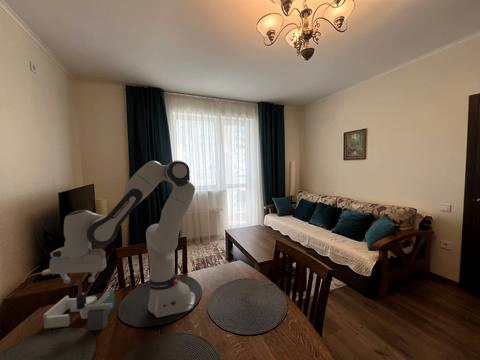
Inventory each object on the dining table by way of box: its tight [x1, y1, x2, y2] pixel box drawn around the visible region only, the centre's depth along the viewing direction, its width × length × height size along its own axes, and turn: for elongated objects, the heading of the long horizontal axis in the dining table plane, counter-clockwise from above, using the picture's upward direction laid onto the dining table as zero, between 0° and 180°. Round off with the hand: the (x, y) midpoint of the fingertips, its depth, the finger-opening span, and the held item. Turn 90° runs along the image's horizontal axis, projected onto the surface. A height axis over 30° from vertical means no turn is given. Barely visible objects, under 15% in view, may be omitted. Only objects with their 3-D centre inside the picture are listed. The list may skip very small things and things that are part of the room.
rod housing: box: [87, 309, 109, 332], centre depth 89 cm, size 6×3×8 cm, turn 96°
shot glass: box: [79, 295, 98, 320], centre depth 97 cm, size 7×7×7 cm
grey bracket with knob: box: [69, 289, 116, 317], centre depth 94 cm, size 16×15×15 cm
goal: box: [43, 295, 77, 329], centre depth 96 cm, size 9×13×6 cm
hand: (79, 282), depth 87 cm, fingers open, 8 cm apart
